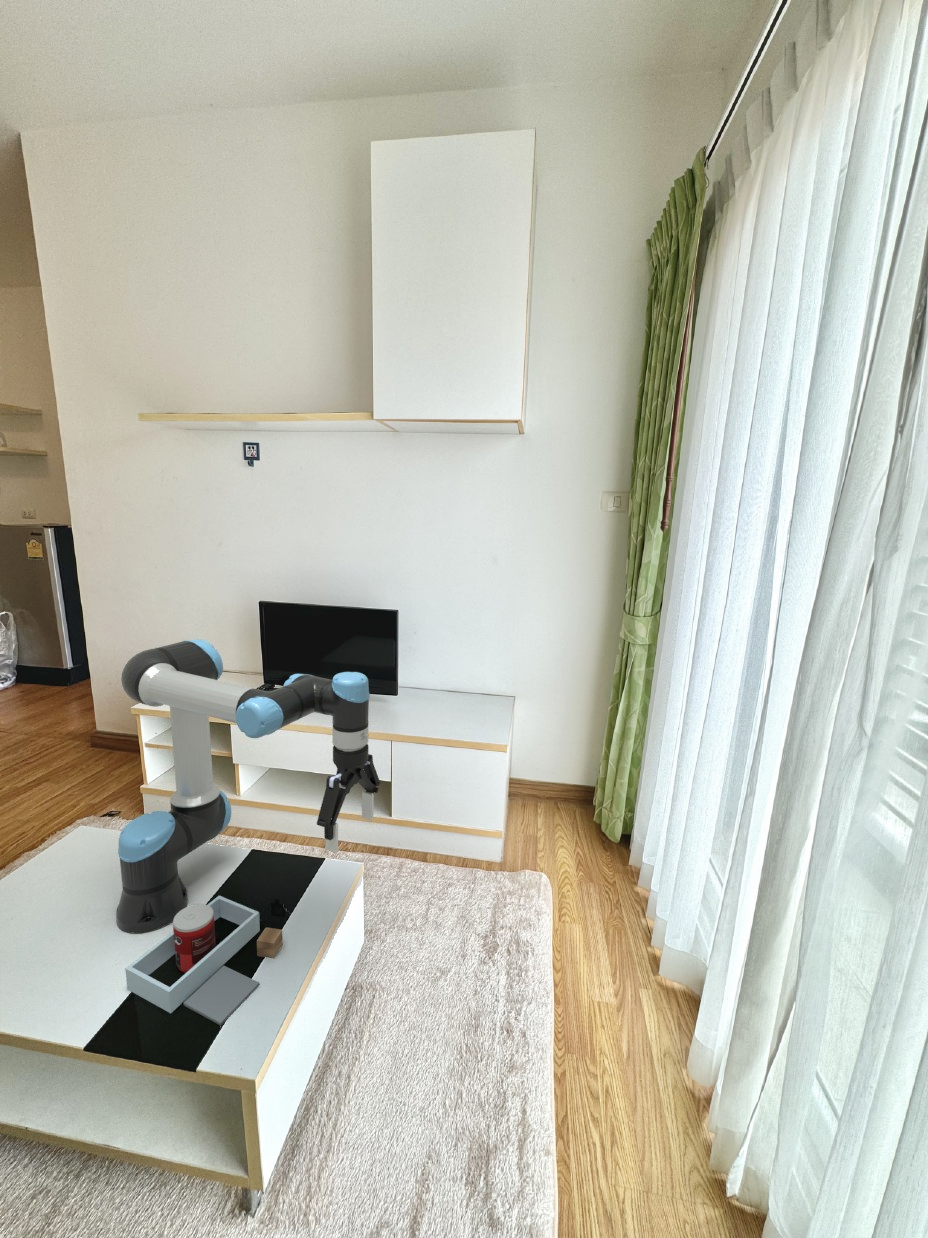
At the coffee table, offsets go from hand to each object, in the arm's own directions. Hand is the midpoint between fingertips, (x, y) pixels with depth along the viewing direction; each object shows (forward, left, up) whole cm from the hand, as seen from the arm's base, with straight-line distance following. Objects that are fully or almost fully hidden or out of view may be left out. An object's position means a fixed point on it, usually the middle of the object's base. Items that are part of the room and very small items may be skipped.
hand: (350, 833), depth 119 cm
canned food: (-27, -19, -28) cm, 43 cm away
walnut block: (-15, -10, -28) cm, 33 cm away
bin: (-27, -19, -28) cm, 43 cm away
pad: (-15, -23, -28) cm, 39 cm away
